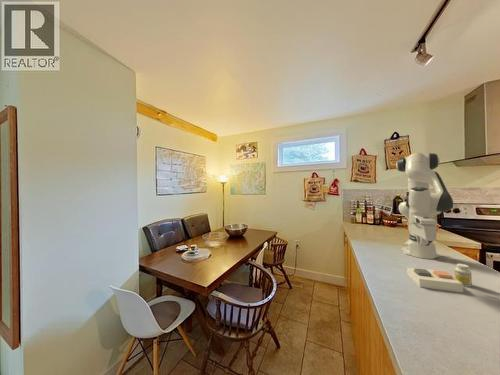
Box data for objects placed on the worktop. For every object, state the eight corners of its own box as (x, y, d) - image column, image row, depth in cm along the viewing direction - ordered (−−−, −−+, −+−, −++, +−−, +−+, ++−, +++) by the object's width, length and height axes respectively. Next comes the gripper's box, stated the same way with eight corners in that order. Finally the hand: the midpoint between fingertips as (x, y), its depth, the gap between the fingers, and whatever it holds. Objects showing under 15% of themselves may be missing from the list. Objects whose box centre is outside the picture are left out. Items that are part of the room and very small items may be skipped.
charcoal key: (414, 273, 100) (414, 268, 100) (426, 275, 98) (425, 269, 98) (418, 278, 95) (418, 272, 95) (431, 279, 93) (431, 273, 93)
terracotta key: (433, 275, 97) (433, 270, 97) (445, 277, 95) (445, 271, 95) (439, 280, 92) (438, 274, 92) (452, 281, 90) (452, 275, 90)
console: (407, 274, 104) (407, 267, 104) (444, 278, 99) (444, 271, 99) (419, 286, 91) (419, 278, 91) (463, 292, 86) (462, 283, 86)
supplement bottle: (465, 287, 89) (464, 267, 90) (452, 282, 95) (451, 263, 95) (475, 286, 90) (474, 267, 90) (461, 281, 95) (460, 262, 95)
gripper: (404, 215, 108) (405, 239, 107) (422, 221, 88) (423, 250, 88) (418, 215, 105) (419, 239, 105) (439, 222, 86) (440, 251, 86)
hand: (421, 244), depth 97 cm, fingers closed
